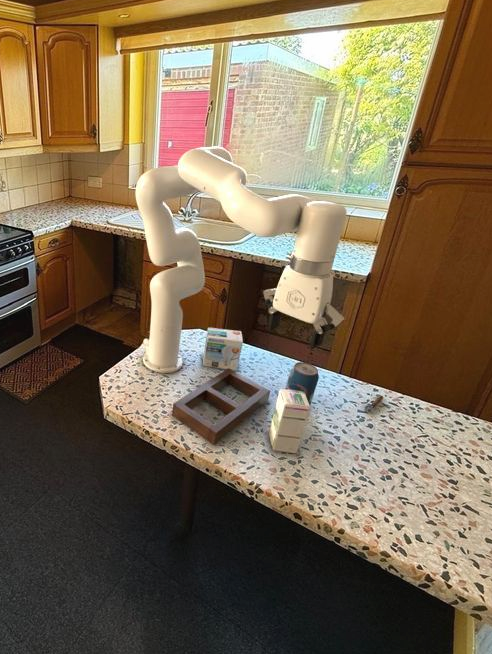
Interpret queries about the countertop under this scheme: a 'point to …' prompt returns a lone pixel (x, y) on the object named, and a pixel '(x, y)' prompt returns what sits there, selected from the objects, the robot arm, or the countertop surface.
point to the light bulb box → (222, 348)
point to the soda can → (303, 379)
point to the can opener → (374, 403)
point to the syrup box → (289, 420)
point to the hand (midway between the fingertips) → (293, 337)
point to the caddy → (220, 405)
